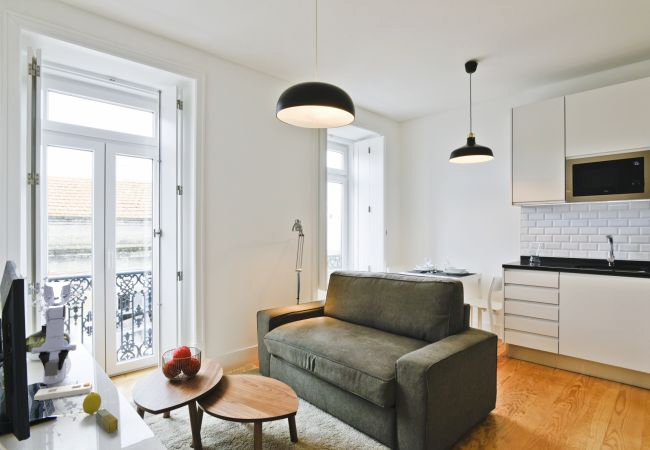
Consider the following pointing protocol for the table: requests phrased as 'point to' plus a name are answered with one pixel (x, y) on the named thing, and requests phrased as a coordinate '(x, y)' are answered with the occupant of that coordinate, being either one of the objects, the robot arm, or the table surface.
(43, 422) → the table surface
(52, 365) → the block
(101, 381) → the table surface
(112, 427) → the medication box
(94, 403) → the lemon
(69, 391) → the power strip
